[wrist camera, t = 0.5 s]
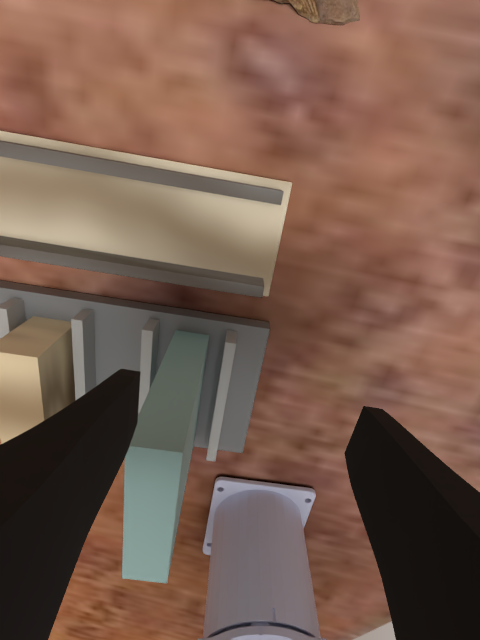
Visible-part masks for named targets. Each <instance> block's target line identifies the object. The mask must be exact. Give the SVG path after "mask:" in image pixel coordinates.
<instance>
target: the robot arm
mask: <svg viewBox="0 0 480 640" xmlns="http://www.w3.org/2000/svg"><path fill="white" fill-rule="evenodd" d="M140 373H141V372H140V371H134V370H127V369H120V370H118V371H117V372H115V373H114V374H112V375H111V376H110V377H108V378H107V379H105V380H104V381H103V382H101V383H100V384H98V385H97V386H96V387H94V388H93V389H91V390H90V391H89V392H87V393H86V394H84V395H83V396H81V397H80V398H78V399H77V400H76V401H74V402H73V403H71V404H70V405H68V406H67V407H65V408H64V409H62V410H61V411H59V412H57V413H56V414H54V415H52V416H51V417H49V418H48V419H46V420H44V421H43V422H41V423H40V424H38V425H36V426H34V427H33V428H31V429H29V430H27V431H25V432H24V433H22V434H20V435H18V436H16V437H14V438H12V439H10V440H8V441H7V442H5V443H3V444H1V445H0V640H48V638H49V635H50V632H51V630H52V627H53V624H54V621H55V619H56V616H57V613H58V611H59V608H60V605H61V602H62V600H63V597H64V594H65V592H66V589H67V586H68V584H69V581H70V578H71V576H72V573H73V571H74V568H75V565H76V563H77V560H78V558H79V555H80V552H81V550H82V547H83V545H84V542H85V540H86V537H87V535H88V533H89V531H90V528H91V526H92V524H93V522H94V520H95V518H96V516H97V514H98V511H99V509H100V507H101V505H102V503H103V501H104V499H105V497H106V495H107V493H108V491H109V489H110V487H111V485H112V483H113V481H114V479H115V477H116V475H117V473H118V471H119V468H120V466H121V464H122V462H123V460H124V458H125V456H126V454H127V451H128V449H129V446H130V443H131V440H132V437H133V435H134V432H135V429H136V426H137V423H138V407H139V390H140ZM345 458H346V463H347V469H348V474H349V478H350V483H351V486H352V490H353V493H354V496H355V499H356V502H357V505H358V508H359V511H360V514H361V517H362V520H363V523H364V526H365V529H366V531H367V534H368V537H369V540H370V543H371V546H372V549H373V552H374V555H375V558H376V561H377V564H378V568H379V571H380V574H381V578H382V582H383V586H384V590H385V594H386V598H387V602H388V606H389V610H390V615H391V619H392V623H393V628H394V632H395V637H396V640H480V492H478V491H477V490H476V489H475V488H473V487H472V486H471V485H470V484H469V483H467V482H466V481H465V480H464V479H462V478H461V477H460V476H459V475H458V474H456V473H455V472H454V471H453V470H452V469H450V468H449V467H448V466H447V465H446V464H445V463H443V462H442V461H441V460H440V459H439V458H438V457H436V456H435V455H434V454H433V453H432V452H431V451H430V450H429V449H427V448H426V447H425V446H424V445H423V444H422V443H421V442H420V441H418V440H417V439H416V438H415V437H414V436H413V435H412V434H411V433H410V432H408V431H407V430H406V429H405V428H404V427H403V426H402V425H401V424H400V423H398V422H397V421H396V420H395V419H394V418H393V417H391V416H390V415H389V414H388V413H387V412H385V411H384V410H383V409H379V408H373V407H366V406H364V407H363V409H362V411H361V414H360V416H359V419H358V421H357V424H356V426H355V429H354V431H353V434H352V436H351V439H350V441H349V443H348V446H347V448H346V451H345ZM315 497H316V494H315V490H314V489H312V488H306V487H298V486H291V485H283V484H275V483H267V482H260V481H252V480H244V479H237V478H229V477H218V478H216V480H215V485H214V490H213V495H212V501H211V506H210V512H209V517H208V522H207V528H206V533H205V539H204V544H203V553H204V554H206V555H211V556H210V567H209V577H208V588H207V599H206V610H205V621H204V632H203V638H201V639H197V640H327V639H326V638H321V637H320V630H319V624H318V618H317V611H316V605H315V599H314V593H313V586H312V580H311V574H310V567H309V561H308V555H307V549H306V542H305V536H304V530H303V529H304V526H305V524H306V521H307V518H308V516H309V513H310V510H311V508H312V505H313V502H314V500H315Z"/></svg>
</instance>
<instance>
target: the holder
mask: <svg viewBox="0 0 480 640" xmlns="http://www.w3.org/2000/svg"><path fill="white" fill-rule="evenodd" d="M291 187H292V183H291V182H287V181H281V180H276V179H270V178H264V177H259V176H253V175H247V174H242V173H236V172H231V171H225V170H219V169H214V168H208V167H202V166H197V165H191V164H186V163H180V162H174V161H169V160H163V159H157V158H152V157H146V156H141V155H135V154H129V153H124V152H118V151H112V150H107V149H101V148H96V147H90V146H84V145H79V144H73V143H67V142H62V141H56V140H51V139H45V138H39V137H34V136H28V135H22V134H17V133H11V132H6V131H0V256H2V257H8V258H14V259H21V260H27V261H33V262H39V263H46V264H52V265H58V266H65V267H71V268H77V269H84V270H90V271H96V272H102V273H109V274H115V275H121V276H128V277H134V278H140V279H147V280H153V281H159V282H165V283H172V284H178V285H184V286H191V287H197V288H203V289H210V290H216V291H222V292H228V293H235V294H241V295H247V296H254V297H260V298H262V296H269V291H270V286H271V282H272V277H273V272H274V267H275V263H276V258H277V253H278V249H279V244H280V239H281V234H282V230H283V225H284V220H285V215H286V211H287V206H288V201H289V196H290V192H291Z"/></svg>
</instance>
